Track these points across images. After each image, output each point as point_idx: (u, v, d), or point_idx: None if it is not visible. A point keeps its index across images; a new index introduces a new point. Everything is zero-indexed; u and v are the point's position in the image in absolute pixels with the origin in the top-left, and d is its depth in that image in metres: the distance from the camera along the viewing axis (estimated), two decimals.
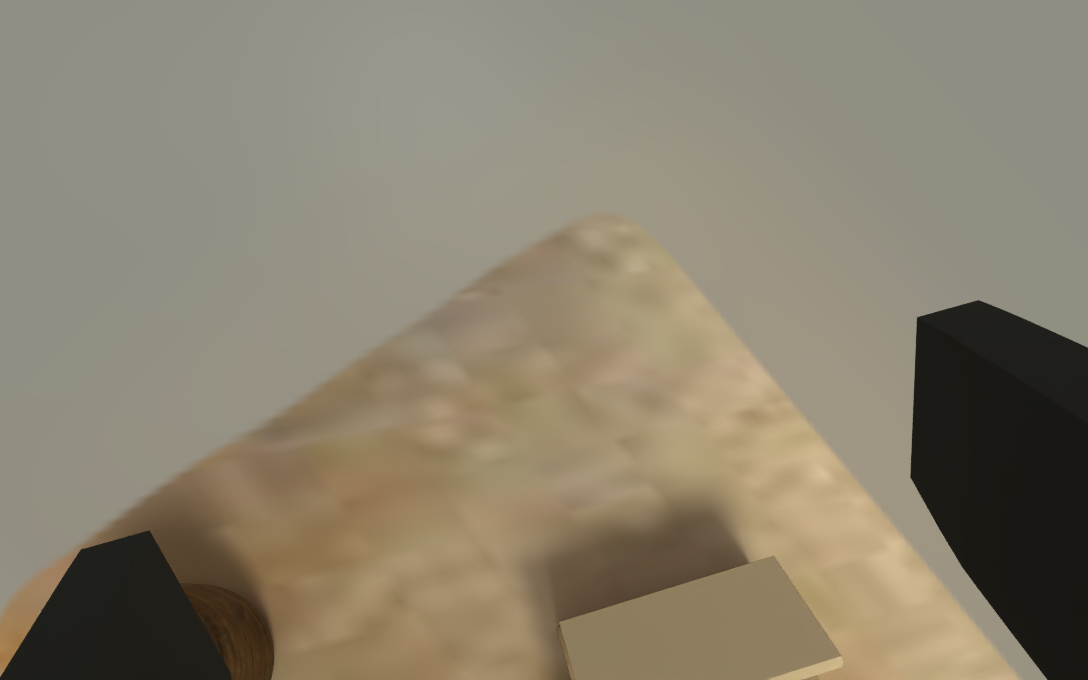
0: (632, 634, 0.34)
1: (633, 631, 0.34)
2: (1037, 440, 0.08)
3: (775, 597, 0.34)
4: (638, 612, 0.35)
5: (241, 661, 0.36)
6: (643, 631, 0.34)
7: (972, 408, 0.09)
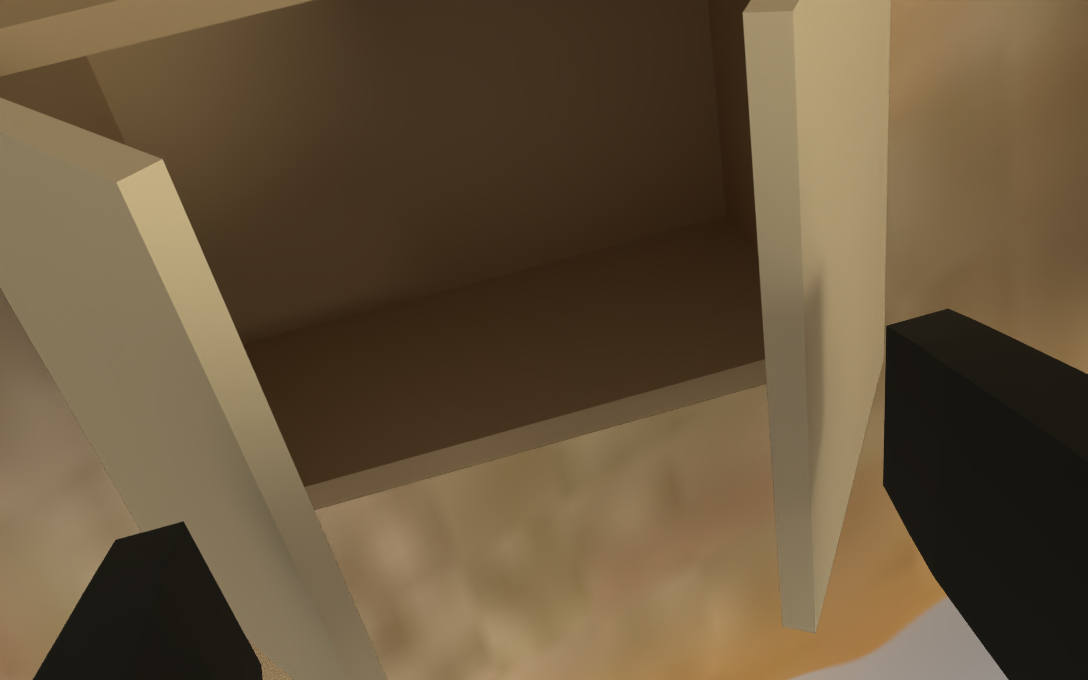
0: (159, 505, 0.13)
1: (152, 498, 0.13)
2: (1002, 451, 0.08)
3: None
4: (109, 451, 0.14)
5: None
6: (148, 485, 0.13)
7: (940, 418, 0.09)
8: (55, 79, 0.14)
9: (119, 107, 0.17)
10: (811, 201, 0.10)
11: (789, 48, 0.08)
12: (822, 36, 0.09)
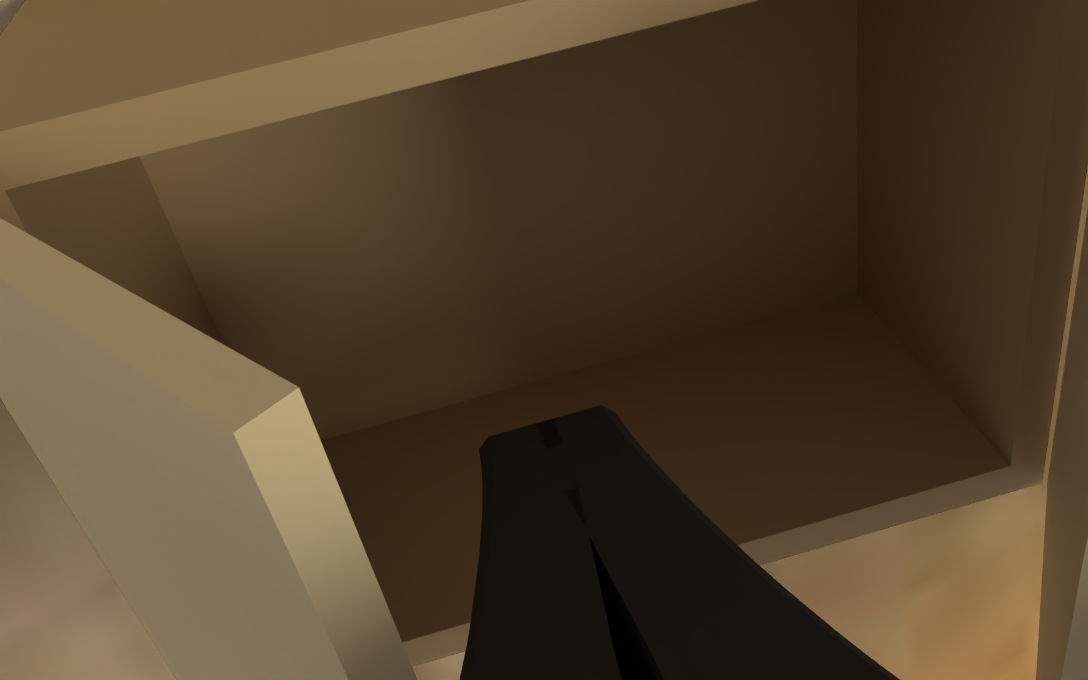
0: None
1: None
2: None
3: (22, 346, 0.08)
4: (161, 634, 0.11)
5: None
6: None
7: None
8: None
9: (163, 183, 0.14)
10: None
11: None
12: None
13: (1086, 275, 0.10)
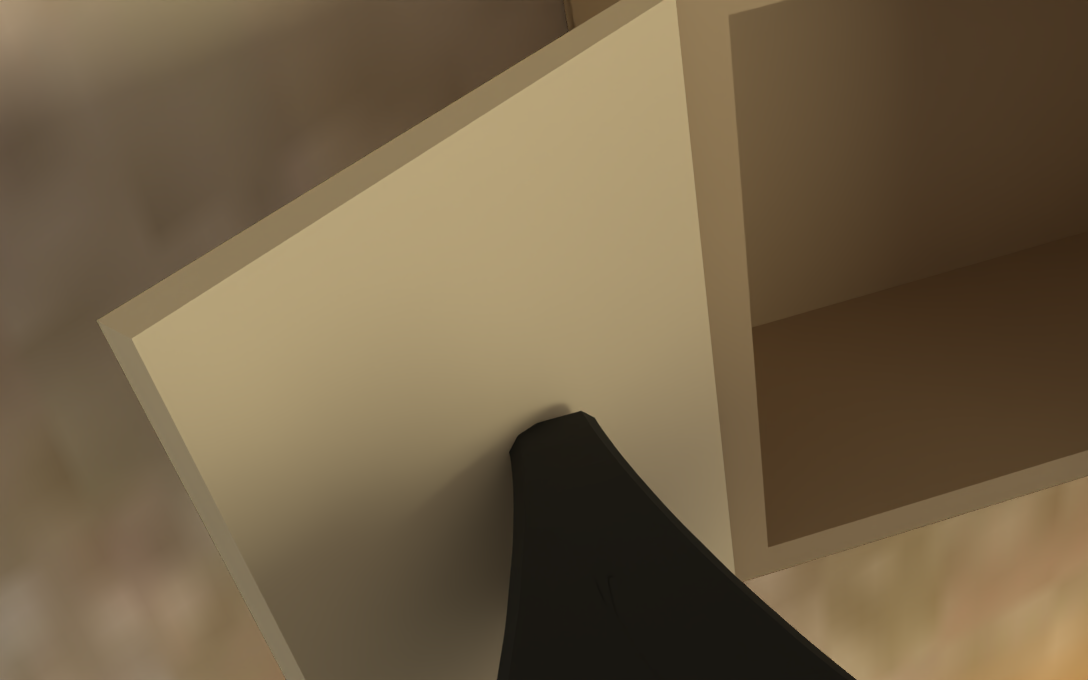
0: None
1: None
2: None
3: None
4: None
5: None
6: None
7: None
8: None
9: None
10: None
11: None
12: None
13: None
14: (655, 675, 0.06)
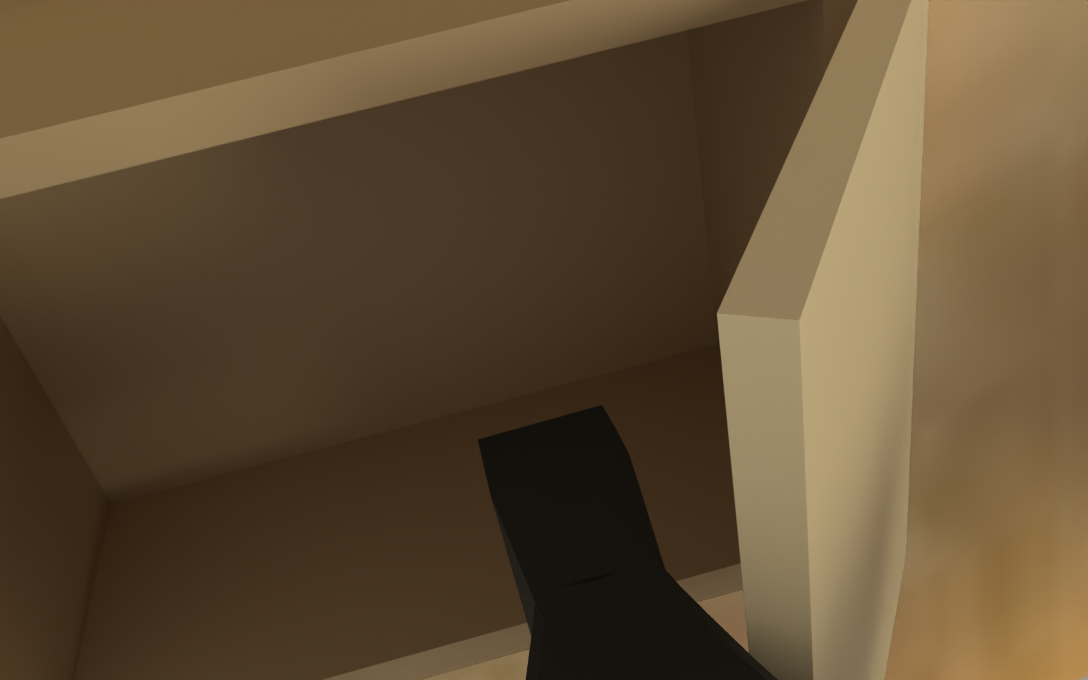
0: None
1: None
2: (523, 589, 0.08)
3: None
4: None
5: None
6: None
7: (504, 542, 0.08)
8: None
9: None
10: (826, 536, 0.06)
11: (793, 367, 0.05)
12: (842, 299, 0.06)
13: None
14: (686, 666, 0.06)
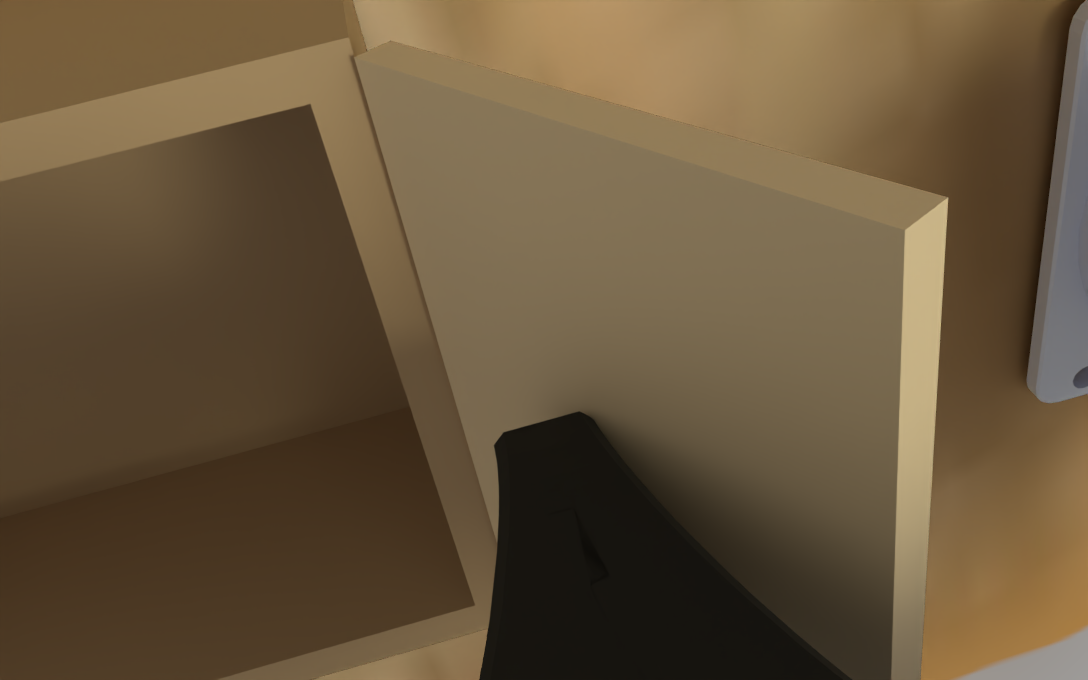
0: None
1: None
2: None
3: None
4: None
5: None
6: None
7: None
8: None
9: None
10: None
11: (933, 249, 0.06)
12: None
13: (530, 418, 0.10)
14: None
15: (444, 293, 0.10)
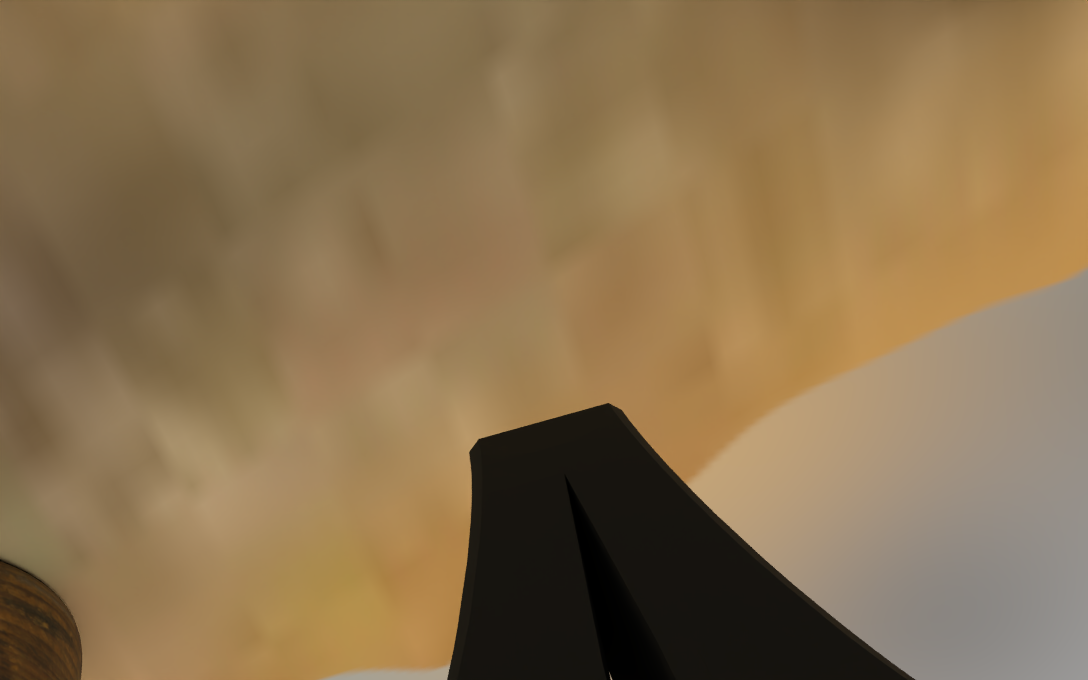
0: None
1: None
2: (601, 566, 0.08)
3: None
4: None
5: None
6: None
7: (575, 522, 0.09)
8: None
9: None
10: None
11: None
12: None
13: None
14: None
15: None
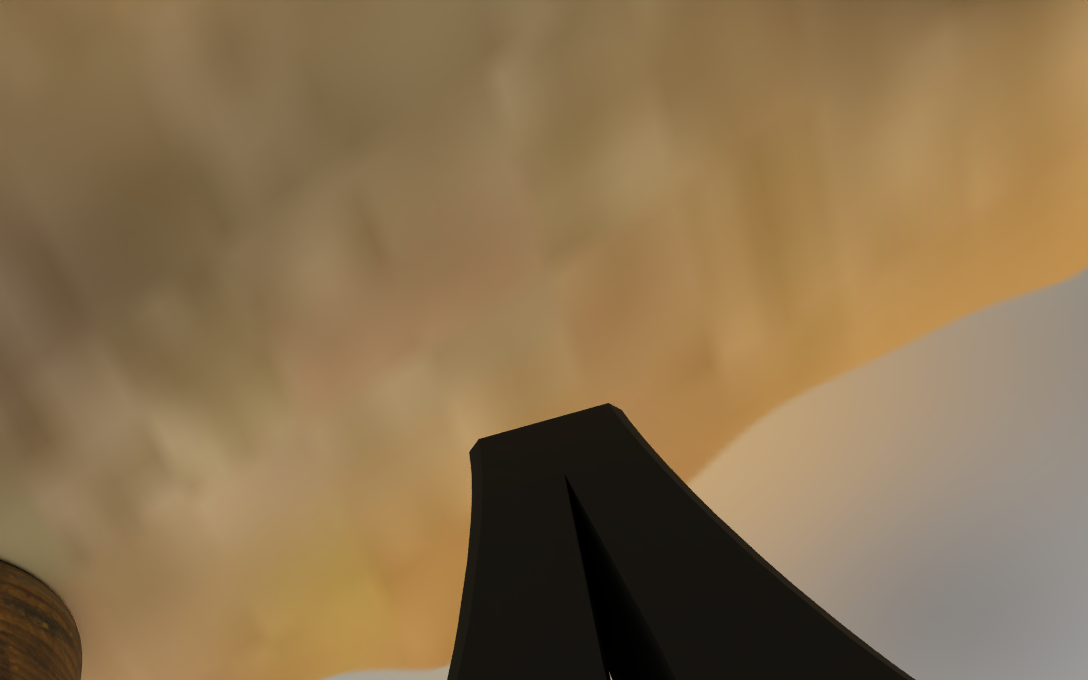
0: None
1: None
2: (601, 566, 0.08)
3: None
4: None
5: None
6: None
7: (575, 522, 0.09)
8: None
9: None
10: None
11: None
12: None
13: None
14: None
15: None
